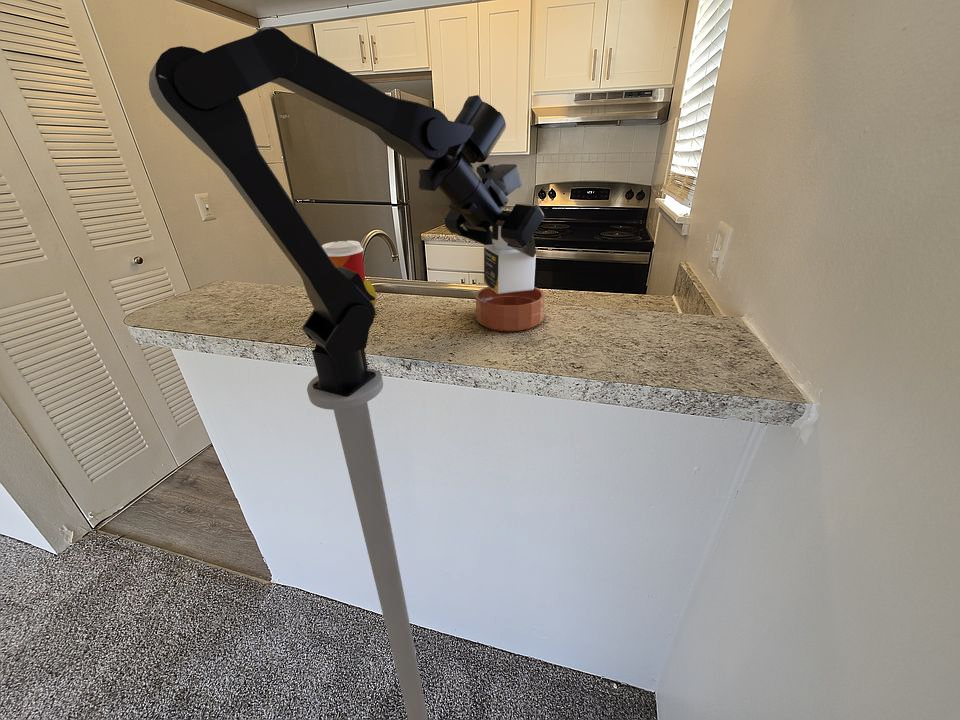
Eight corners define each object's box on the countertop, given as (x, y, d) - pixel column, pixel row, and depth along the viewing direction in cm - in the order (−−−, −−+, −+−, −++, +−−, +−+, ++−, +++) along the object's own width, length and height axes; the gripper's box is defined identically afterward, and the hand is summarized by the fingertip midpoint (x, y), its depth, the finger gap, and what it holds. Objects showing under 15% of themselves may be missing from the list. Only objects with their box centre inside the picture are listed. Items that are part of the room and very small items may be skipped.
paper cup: (334, 311, 83) (319, 242, 76) (372, 306, 85) (361, 238, 78) (334, 325, 76) (317, 250, 70) (375, 319, 78) (363, 246, 72)
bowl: (531, 337, 69) (532, 309, 67) (465, 327, 74) (464, 301, 72) (550, 312, 79) (552, 287, 77) (492, 304, 84) (491, 281, 82)
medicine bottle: (483, 283, 76) (483, 216, 70) (518, 280, 78) (520, 214, 72) (497, 294, 70) (498, 222, 64) (534, 290, 72) (538, 219, 66)
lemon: (375, 320, 78) (368, 280, 75) (346, 320, 79) (339, 280, 75) (381, 310, 83) (376, 272, 80) (355, 310, 83) (348, 272, 80)
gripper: (538, 142, 54) (581, 218, 66) (454, 145, 67) (502, 209, 79) (495, 210, 54) (546, 275, 65) (419, 200, 66) (472, 256, 78)
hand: (515, 250), depth 72 cm, fingers closed on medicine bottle, 9 cm apart
